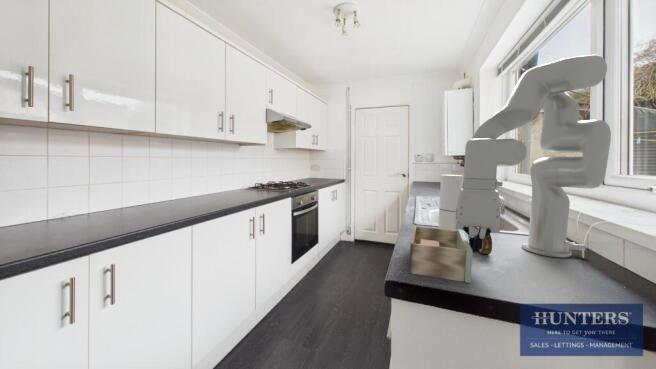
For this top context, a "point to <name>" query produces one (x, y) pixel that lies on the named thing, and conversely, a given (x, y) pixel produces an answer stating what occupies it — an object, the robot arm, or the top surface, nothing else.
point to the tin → (484, 242)
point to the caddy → (437, 254)
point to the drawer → (464, 245)
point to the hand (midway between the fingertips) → (475, 250)
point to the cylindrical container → (449, 200)
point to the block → (429, 242)
